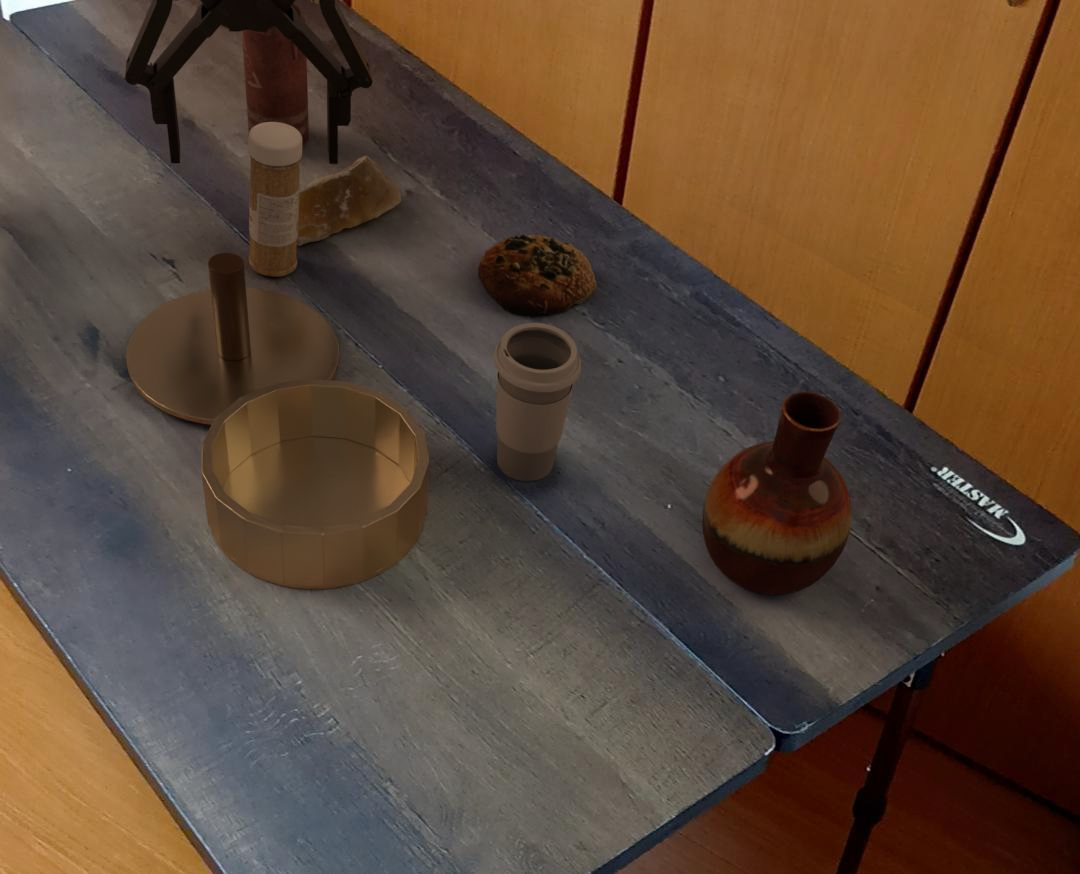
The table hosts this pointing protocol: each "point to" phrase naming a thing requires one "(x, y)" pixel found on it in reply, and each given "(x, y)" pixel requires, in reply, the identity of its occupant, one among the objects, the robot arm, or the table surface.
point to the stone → (344, 200)
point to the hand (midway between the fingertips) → (255, 155)
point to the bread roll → (536, 275)
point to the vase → (781, 504)
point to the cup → (532, 397)
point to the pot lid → (226, 345)
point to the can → (275, 80)
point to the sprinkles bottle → (274, 197)
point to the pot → (315, 483)
